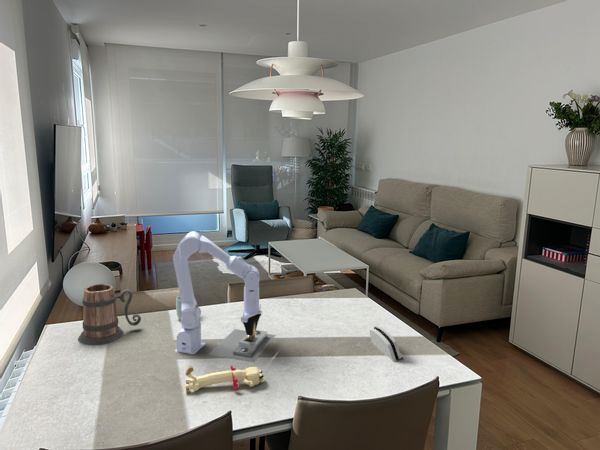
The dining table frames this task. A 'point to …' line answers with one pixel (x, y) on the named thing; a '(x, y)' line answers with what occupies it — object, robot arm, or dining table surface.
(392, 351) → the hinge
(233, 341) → the mat
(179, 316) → the cup
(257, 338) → the latch strike plate
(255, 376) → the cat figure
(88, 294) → the tankard
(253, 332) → the pin
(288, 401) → the dining table surface
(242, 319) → the robot arm
